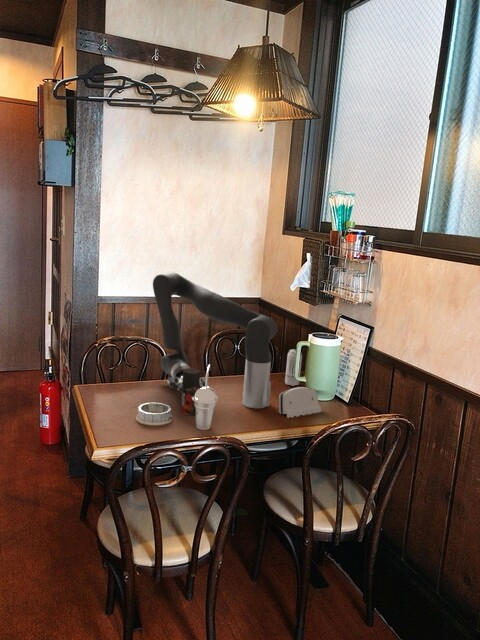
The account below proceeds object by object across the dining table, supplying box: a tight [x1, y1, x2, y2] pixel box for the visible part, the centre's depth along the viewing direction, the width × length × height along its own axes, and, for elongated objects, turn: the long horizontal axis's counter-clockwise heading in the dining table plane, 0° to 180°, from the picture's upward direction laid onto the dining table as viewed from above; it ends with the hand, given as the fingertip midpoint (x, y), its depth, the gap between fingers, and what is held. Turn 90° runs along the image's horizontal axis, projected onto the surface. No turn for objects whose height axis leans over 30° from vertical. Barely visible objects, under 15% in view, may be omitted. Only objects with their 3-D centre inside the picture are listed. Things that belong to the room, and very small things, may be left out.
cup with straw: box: [192, 364, 219, 431], centre depth 176 cm, size 8×9×20 cm
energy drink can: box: [284, 348, 303, 386], centre depth 228 cm, size 6×6×15 cm
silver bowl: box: [135, 401, 173, 427], centre depth 181 cm, size 12×12×4 cm
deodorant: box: [180, 367, 201, 416], centre depth 188 cm, size 6×6×15 cm
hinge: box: [278, 386, 322, 419], centre depth 199 cm, size 17×5×10 cm, turn 124°
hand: (192, 389), depth 186 cm, fingers closed on deodorant, 6 cm apart
